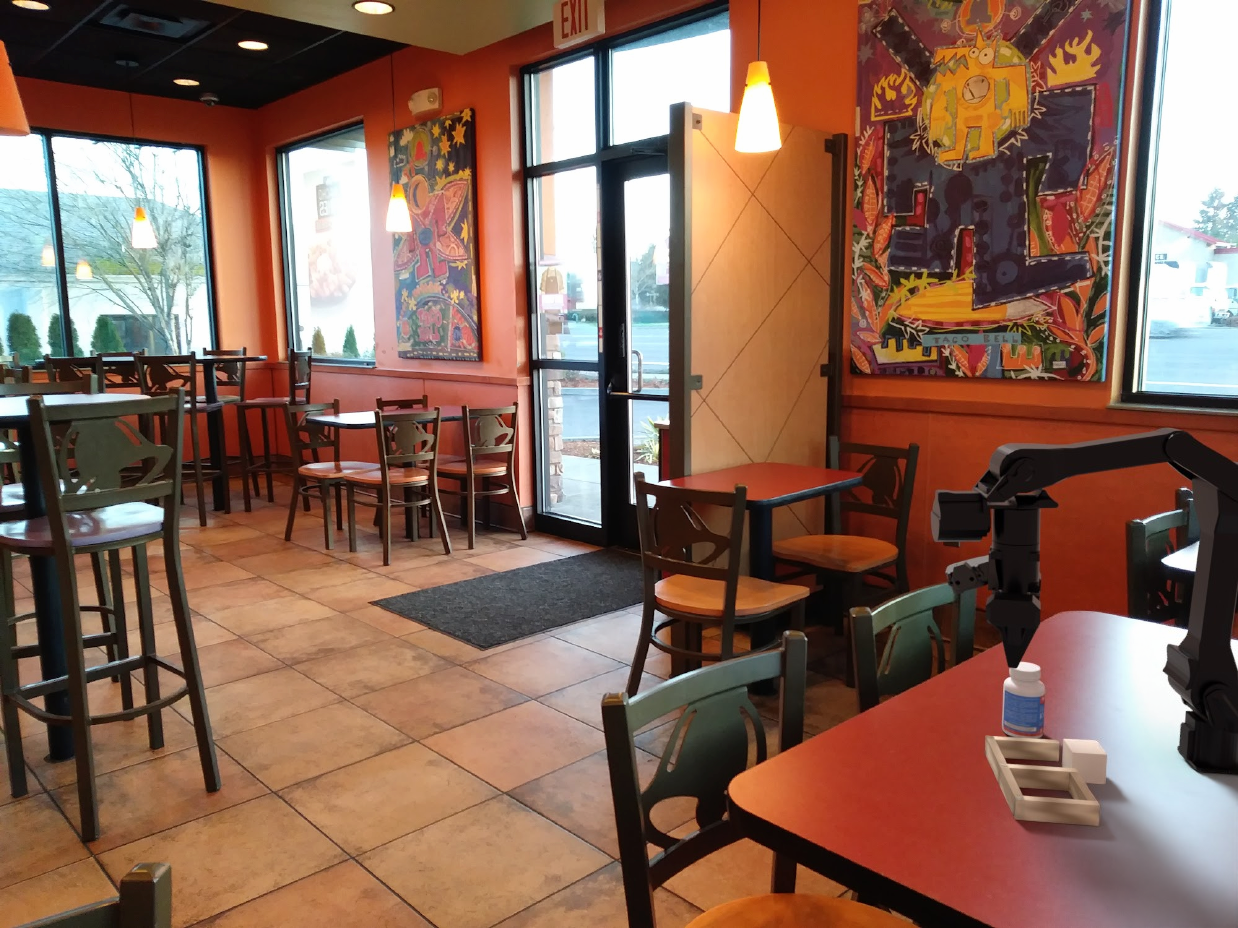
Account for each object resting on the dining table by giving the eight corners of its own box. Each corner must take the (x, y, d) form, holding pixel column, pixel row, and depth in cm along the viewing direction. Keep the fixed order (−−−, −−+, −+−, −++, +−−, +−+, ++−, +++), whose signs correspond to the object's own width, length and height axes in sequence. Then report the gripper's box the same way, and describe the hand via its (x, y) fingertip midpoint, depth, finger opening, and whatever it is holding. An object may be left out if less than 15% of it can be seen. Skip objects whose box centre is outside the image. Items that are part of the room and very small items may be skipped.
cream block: (1095, 769, 116) (1096, 740, 115) (1105, 784, 112) (1107, 754, 111) (1061, 767, 117) (1063, 738, 116) (1071, 782, 113) (1072, 752, 112)
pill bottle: (1048, 742, 124) (1051, 674, 122) (1006, 739, 125) (1009, 672, 123) (1037, 725, 129) (1040, 660, 127) (998, 723, 130) (1000, 658, 129)
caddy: (1056, 757, 119) (1057, 739, 119) (1098, 825, 102) (1099, 805, 102) (984, 753, 121) (985, 735, 120) (1015, 819, 104) (1015, 799, 104)
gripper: (956, 523, 128) (955, 628, 130) (943, 553, 112) (942, 673, 114) (1042, 527, 124) (1039, 636, 126) (1041, 559, 107) (1039, 683, 109)
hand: (1013, 655), depth 119 cm, fingers open, 9 cm apart
